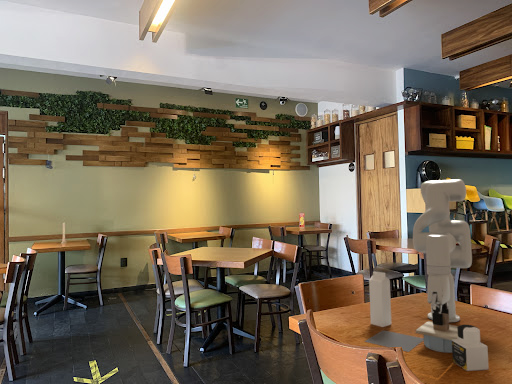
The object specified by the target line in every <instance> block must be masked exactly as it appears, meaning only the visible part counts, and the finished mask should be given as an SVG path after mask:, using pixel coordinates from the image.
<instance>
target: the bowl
mask: <svg viewBox="0 0 512 384" xmlns="http://www.w3.org/2000/svg"><path fill="white" fill-rule="evenodd" d="M423 338H424V340H423V345H424V346H425V347H426V348H427V349H430V350H432V351H435V352H441V353H452V340H448V339H443V338H438V337H433V336H428V335H423Z"/></svg>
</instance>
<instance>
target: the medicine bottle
mask: <svg viewBox="0 0 512 384" xmlns="http://www.w3.org/2000/svg"><path fill="white" fill-rule="evenodd" d="M457 326H458V327H457V329H458V339H452V352H451V353H452V362H453V363H454V364H455V365H457V366H459V368H461V367H462V370H465V371H466V372H473V371H486V370H489V369H490V368H489V352H488V351H489V350H488V345H486V344H484V343H483V342H481V331H480V328H479V327H477V326H475V325H472V324H460V325H457Z"/></svg>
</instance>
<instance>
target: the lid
mask: <svg viewBox="0 0 512 384" xmlns="http://www.w3.org/2000/svg"><path fill="white" fill-rule="evenodd" d="M442 314H443V325H442V326H441V325H435V324H433V321H429V320H428V321H426V322H425V323H423V324H422V325H420V326H419V327H418V328H417V329H415V334H418V335H422V336H424V335H428V336H433V337H438V338H443V339H448V340H452V339H458V329H457V327H458V326H459V325H453V324H450V322H449V314H445V313H442Z"/></svg>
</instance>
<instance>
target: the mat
mask: <svg viewBox="0 0 512 384" xmlns="http://www.w3.org/2000/svg"><path fill="white" fill-rule="evenodd" d="M364 342H365V343H368V344H373V345H377V346H381V347H382V346H383V347H386V348H390V347H402V349H403V351H404V352H407V353H409V352H411V351H412V350H413V349H414V348H416V347H417V346H418V345H419V344H421V343H423V342H424V337H418V336H414V335H408V334H404V333H399V332H395V331H389V330H383V329H382V330H381V331H380V332H378V333H376V334H374V335H373V336H371V337H370V338H368V339H366V340H364ZM403 351H402V352H403Z"/></svg>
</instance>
